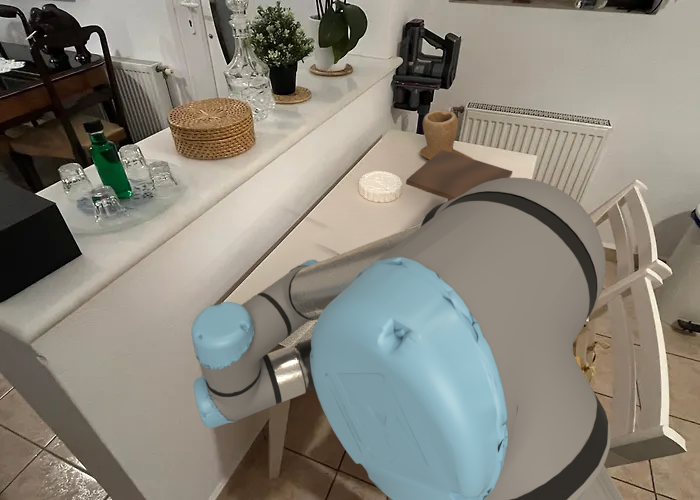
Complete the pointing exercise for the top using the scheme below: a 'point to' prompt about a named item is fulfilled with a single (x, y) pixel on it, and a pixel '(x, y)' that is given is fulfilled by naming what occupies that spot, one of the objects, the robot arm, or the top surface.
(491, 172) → the side table
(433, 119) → the stone cup
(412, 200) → the top surface
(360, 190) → the mooncake
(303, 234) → the top surface
